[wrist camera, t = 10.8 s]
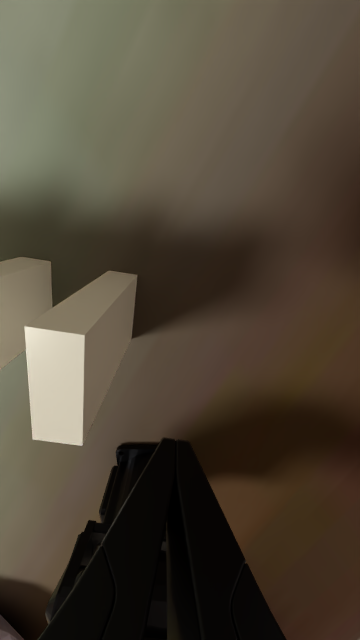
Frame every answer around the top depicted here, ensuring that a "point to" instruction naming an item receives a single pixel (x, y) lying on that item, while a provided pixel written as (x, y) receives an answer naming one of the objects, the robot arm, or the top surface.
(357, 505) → the top surface
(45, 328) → the tile
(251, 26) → the top surface
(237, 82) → the top surface
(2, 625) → the fruit bowl
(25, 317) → the tile
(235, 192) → the top surface
